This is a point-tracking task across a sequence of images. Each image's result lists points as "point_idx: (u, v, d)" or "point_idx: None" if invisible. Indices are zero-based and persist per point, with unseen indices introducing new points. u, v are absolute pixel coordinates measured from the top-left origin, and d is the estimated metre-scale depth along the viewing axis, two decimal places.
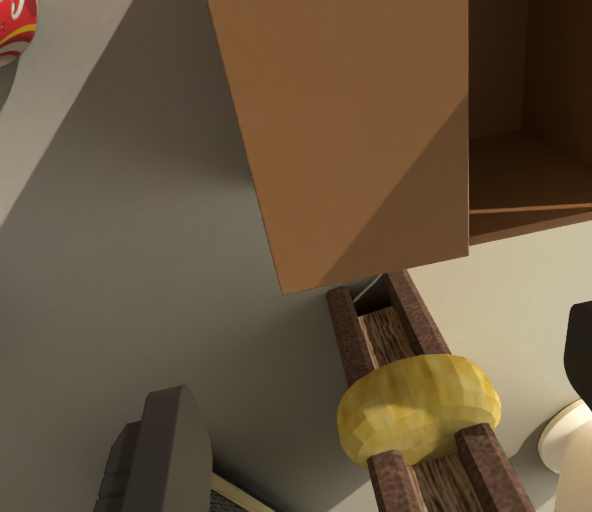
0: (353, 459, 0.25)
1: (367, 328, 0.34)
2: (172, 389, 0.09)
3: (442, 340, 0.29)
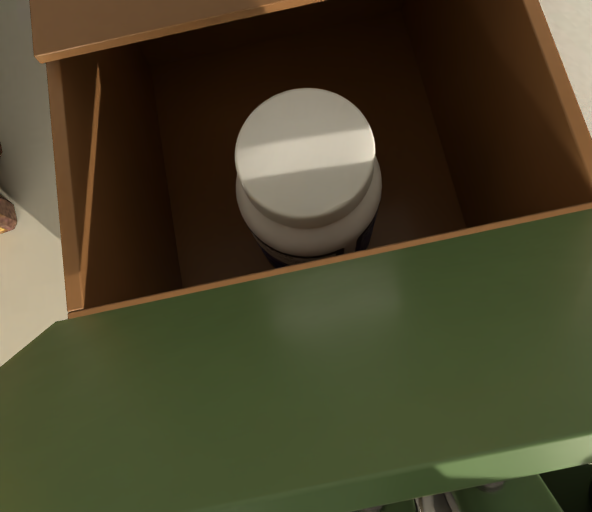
0: None
1: None
2: None
3: None
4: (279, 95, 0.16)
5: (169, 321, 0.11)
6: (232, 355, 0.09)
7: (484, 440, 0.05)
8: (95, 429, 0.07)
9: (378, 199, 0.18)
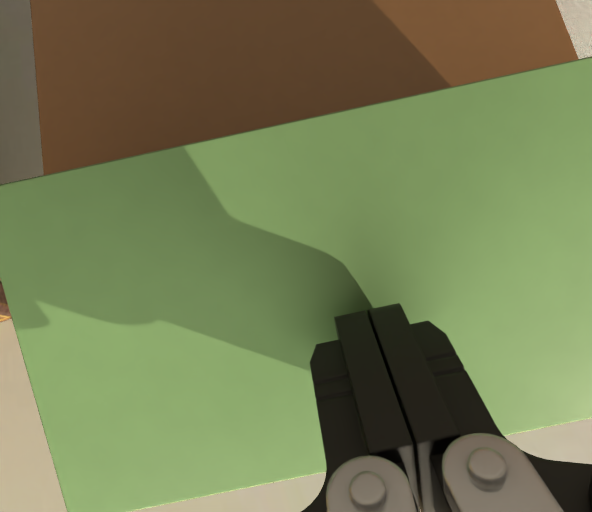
0: None
1: None
2: (357, 313, 0.10)
3: None
4: None
5: None
6: None
7: None
8: None
9: None
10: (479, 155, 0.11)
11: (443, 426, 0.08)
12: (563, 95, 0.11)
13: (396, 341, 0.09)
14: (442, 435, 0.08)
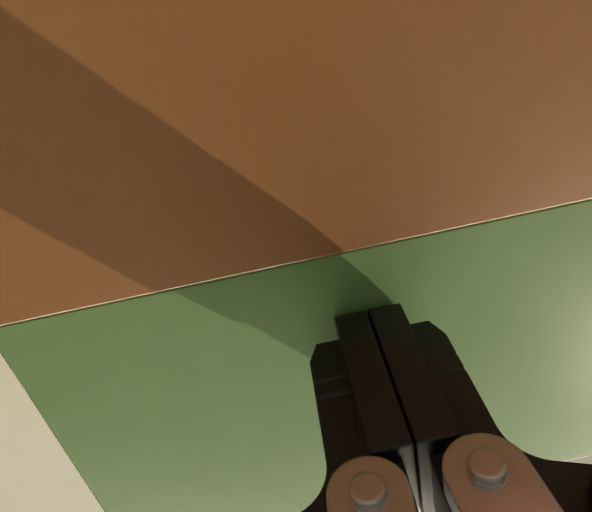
0: None
1: None
2: (357, 313, 0.10)
3: None
4: None
5: None
6: None
7: None
8: None
9: None
10: (517, 279, 0.11)
11: (443, 426, 0.08)
12: None
13: (396, 341, 0.09)
14: (442, 435, 0.08)
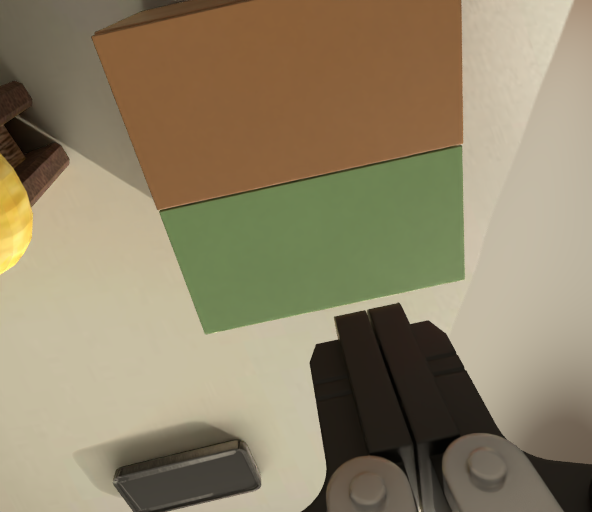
0: None
1: None
2: (357, 313, 0.10)
3: None
4: None
5: None
6: None
7: None
8: None
9: None
10: (378, 193, 0.26)
11: (443, 426, 0.08)
12: (415, 169, 0.25)
13: (396, 341, 0.09)
14: (442, 435, 0.08)
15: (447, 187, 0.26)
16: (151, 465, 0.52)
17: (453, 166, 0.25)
